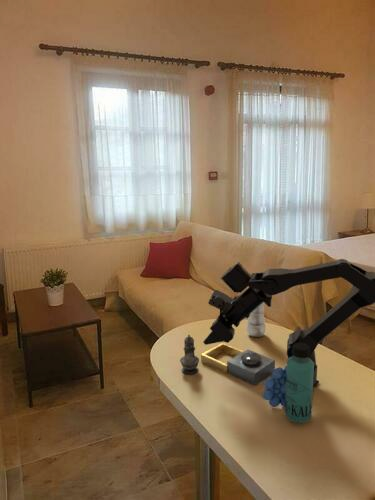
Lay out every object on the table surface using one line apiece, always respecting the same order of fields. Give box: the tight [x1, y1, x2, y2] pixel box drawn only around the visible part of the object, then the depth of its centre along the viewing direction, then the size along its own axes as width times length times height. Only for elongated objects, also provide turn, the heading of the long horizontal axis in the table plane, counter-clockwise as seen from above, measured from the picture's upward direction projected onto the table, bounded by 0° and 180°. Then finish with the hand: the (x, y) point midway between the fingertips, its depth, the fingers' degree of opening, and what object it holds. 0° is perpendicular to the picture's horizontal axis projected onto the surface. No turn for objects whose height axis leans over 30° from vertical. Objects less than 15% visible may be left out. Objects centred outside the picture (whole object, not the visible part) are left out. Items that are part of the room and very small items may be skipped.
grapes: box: [262, 364, 287, 408], centre depth 101 cm, size 12×7×12 cm, turn 96°
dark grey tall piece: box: [179, 334, 200, 376], centre depth 118 cm, size 6×6×12 cm
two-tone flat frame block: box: [200, 342, 276, 387], centre depth 120 cm, size 21×11×5 cm, turn 44°
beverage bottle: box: [283, 343, 314, 423], centre depth 94 cm, size 6×7×20 cm
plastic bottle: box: [246, 302, 266, 338], centre depth 139 cm, size 6×7×20 cm
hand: (207, 336), depth 115 cm, fingers open, 9 cm apart
